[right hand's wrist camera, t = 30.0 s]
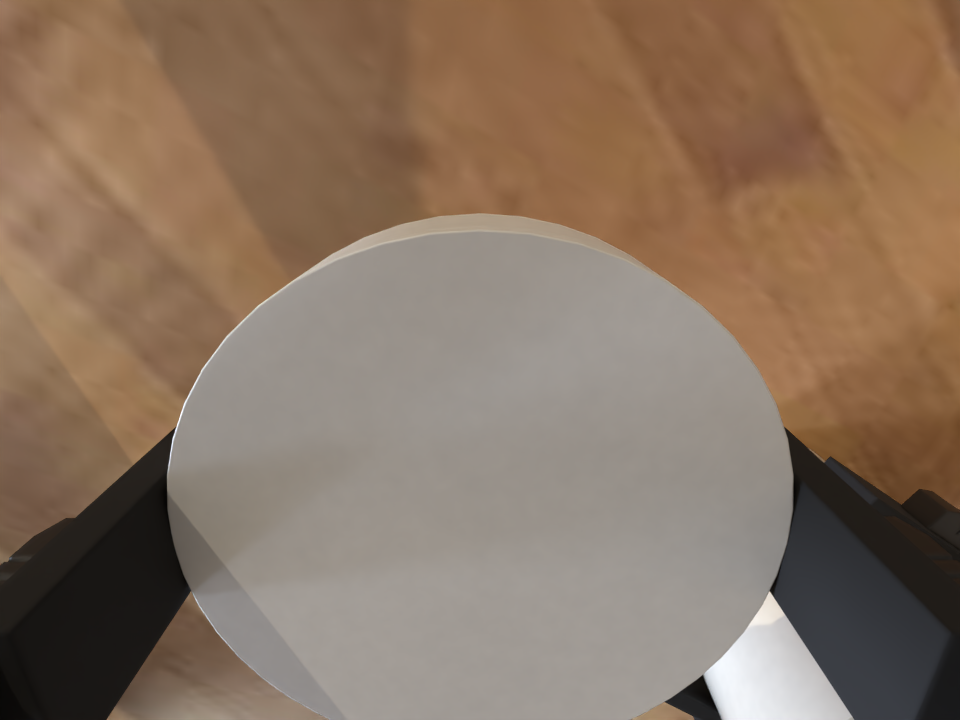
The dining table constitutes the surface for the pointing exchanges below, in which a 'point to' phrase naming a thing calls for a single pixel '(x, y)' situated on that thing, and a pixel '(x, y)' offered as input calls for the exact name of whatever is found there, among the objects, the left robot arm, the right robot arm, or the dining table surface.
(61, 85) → the dining table surface
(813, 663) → the jar
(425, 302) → the lid
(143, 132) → the dining table surface
